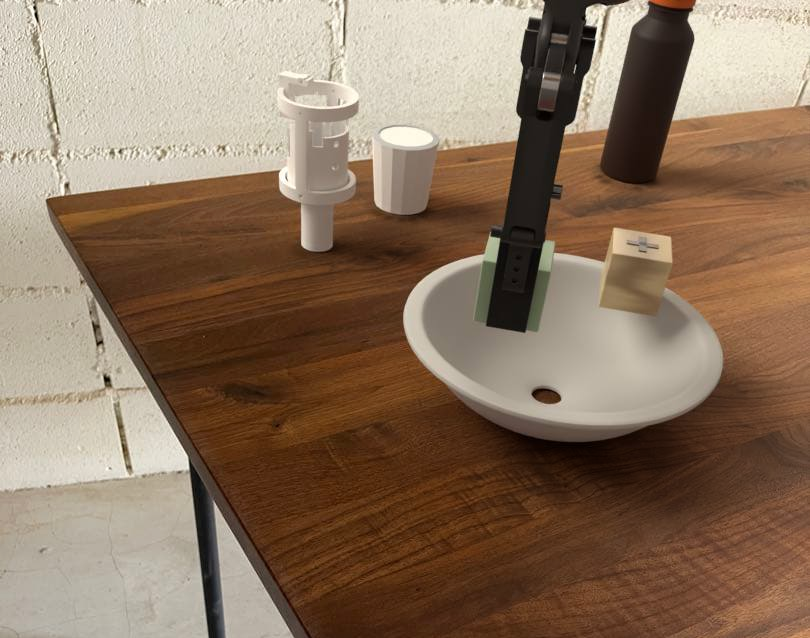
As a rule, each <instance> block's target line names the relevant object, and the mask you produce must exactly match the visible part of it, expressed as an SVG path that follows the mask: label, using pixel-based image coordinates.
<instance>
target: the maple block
mask: <svg viewBox="0 0 810 638" xmlns="http://www.w3.org/2000/svg"><path fill="white" fill-rule="evenodd" d="M672 241H673V240H672V236H668V235H663V234H657V233H650V232H646V231H638V230H632V229H626V228H621V227H613V228H612V232H611V237H610V240H609V243H608V247H607V252H606V255H605V259H604V262H605V263H604V267H603V271H602V274H601V278H600V290H599V305H598V306H599V307H602V308H608V309H614V310H620V311H626V312H632V313H637V314H643V315H649V316H656V315H657V312H658V309H659V306H660V302H661V299H662V296H663V293H664V290H665V287H666V288H667V283H668V280H669V277H670V274H671V271H672V267H673V265H674V261H673V244H672Z"/></svg>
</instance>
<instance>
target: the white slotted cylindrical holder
mask: <svg viewBox="0 0 810 638" xmlns="http://www.w3.org/2000/svg"><path fill="white" fill-rule="evenodd" d="M317 92H318V93H319V96H326V106H315V105H307V104H303V103H299V102H296V97H299V96H310V95H311V96H312V95H315V94H317ZM276 99H277V108H278V110H279V117H280V118H284V119H288V120H293V122H292V123H289V125H288V126H287V127H286V130H287V131H286V132H287V133H286V135H287V137H286V138H287V139H286V140H287V141H286V142H287V152H286V165H285V166H284V167H283V168H282V169H281V170H280V171H279V173H278V188H279V191H280V193H281V194H282V195H283V196H284V197H286V198H288V199H290V200H292V201H294V202H297V203H300V219H301V220H300V222H301V223H300V225H301V226H300V232H301V233H300V234H301V235H300V236H301V237H300V243H301V244H300V245H301V247H302V248H303V249H305V250H307V251H310V252H316V253H320V252H321V253H322V252H327V251H329V250H331V249H332V248H333V246H334V205H337V204H341V203H344V202H347V201H349V200H350V199H352V198H353V197H354V195H356V185H357V178H356V175H355V173H354V172H353V171H351V170H350V169H349V148H350V147H349V145H350V126H349V125H350V123H349V122H350V119H352V118H354V117H355V116H356V115H358V114H359V108H360V107H359V106H360V94H359V93H358V92H357V90H355V88H352V87H351V86H349V85H346V84H343V83H340V82H335V81H331V80H324V79H315V78H314V76H311V75H310V74H307V73H303V74H302V73H301V74H300V73H296V72H293V71H288V70H284V71H282V72H280V73H279V74H278V88H277V91H276ZM341 100H342V101H344V102H346V103H343V104H341Z"/></svg>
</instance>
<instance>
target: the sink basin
mask: <svg viewBox="0 0 810 638" xmlns="http://www.w3.org/2000/svg"><path fill="white" fill-rule="evenodd" d="M483 257H484V253H483V254H478V255H472V256H468V257H466V258H461V259H459V260H455V261H453V262H450V263H448V264H445V265H443V266H440V267H439V268H437V269H435V270H434V271H432V272H431V273H429V274H427V275H426V276H425V277H424V278H423V279H421V280H420V281H419V282H418V283H417V284H416V286H414V288H413V289H412V291H411V292H410V294H409V295H408V296H407V297H408V298H407V300H406V302H405V305H404V308H403V315H402V317H403V319H402V322H403V329H404V334H405V336H406V339H407V342H408V344H409V346H410V348H411V350H412V352H413V353H414V354H415V356H416V357H417V358H418V360H419V361H420V362H421V364H423V366H424V367H425V368H426V369H427V370H428V371H429V372H430V373H431V374H432V375H434V376H435V377H436V378H438V380H439V381H441V382H442V383H444V384H445V386H446V387H447V388H448V389H449V390H450V391H451V393H452V394H454V395H455V396H456V397H457V398H458V400H460V401H461V402H462V403H463V404H465V405H466V406H467V407H468V408H470V409H471V410H472V411H473V412H475V413H476V414H478V415H480V416H481V417H482V418H484V419H486V420H488V421H490V422H491V423H494V424H495V425H497V426H500V427H502V428H504V429H506V430H510V431H512V432H515V433H517V434H520V435H524V436H527V437H531V438H535V439H541V440H545V441H552V442H563V443H564V442H565V443H585V442H586V443H587V442H596V441H605V440H609V439H615V438H618V437H621V436H622V437H623V436H626V435H628V434H631V433H635V432H637V431H639V430H641V429H644V428H646V427H648V426H652V425H657V424H660V423H664V422H668V421H671V420H673V419H675V418H677V417H680V416H682V415H685V414H686V413H688V412H690V411H692V410H693V409H695V408H696V407H698V406H699V405H701V404H702V403H703V402H704V401H705V400H706V399H707V398H708V397H710V395H711V394H712V392H713V391H714V390H715V389H716V388H717V385H718V383H719V382H720V380H721V377H722V373H723V367H724V355H723V354H724V353H723V348H722V346H721V342H720V340H719V338H718V335H717V333H716V331H715V330H714V328H713V327H712V326H711V324H710V323H709V322H708V320H707V319H706V318H705V316H703V315H702V314H701V313H700V311H698V309H697V308H695V307H694V306H693V305H692V304H690V302H688V301H687V300H686V299H684V298H683V297H681V296H680V295H679V294H677V293H675V292H674V291H672V290H671V289H670V288H667V286H666V287H665V290H664V293H663V296H662V299H661V302H660V306H659V309H658V312H657V315H656V316H649V315H643V314H637V313H632V312H626V311H620V310H614V309H608V308H602V307H599V306H598V305H599V290H600V278H601V274H602V271H603V267H604V263H605V261H601V260H597V259H593V258H590V257H589V258H588V257H584V256H579V255H574V254H569V253H568V254H567V253H559V252H554V257H553V263H552V270H551V275H550V280H549V285H548V289H547V294H546V298H545V303H544V308H543V312H542V317H541V321H540V326H539V330H538V332H533V331H527V330H526V332H525V333H522V332H516V331H510V330H505V329H499V328H493V327H487V326H486V323H482V322H476V321H473V318H474V311H475V305H476V298H477V292H478V286H479V279H480V273H481V267H482V261H483ZM539 389H544V390H550V391H553V392H556V393H557V394H558V395H559V396H560V401H558V402H556V403H544V402H541V401H539V400H537V399H535V397H534V396H533V395H532V394H533V392H534V391H536V390H539Z"/></svg>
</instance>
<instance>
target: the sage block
mask: <svg viewBox="0 0 810 638" xmlns="http://www.w3.org/2000/svg"><path fill="white" fill-rule="evenodd" d="M490 234H491V231H489V236H488V239H487V243H486V247H485V250H484V253H483V254H484V257H483V261H482V267H481V273H480V279H479V286H478V292H477V298H476V305H475V311H474V318H473V321H476V322H482V323H486V321H487V315H488V309H489V303H490V297H491V291H492V285H493V279H494V273H495V267H496V261H497V255H498V249H499V243H500V238H495V237H490ZM555 251H556V241H554V240H547V239H545V243H544V244H543V249H542V253H541V258H540V263H539V268H538V273H537V278H536V283H535V288H534V293H533V298H532V303H531V307H530V312H529V317H528V322H527V327H526V330H527V331H533V332H538V330H539V326H540V321H541V317H542V312H543V308H544V303H545V298H546V294H547V289H548V285H549V280H550V275H551V270H552V263H553V257H554V253H555Z"/></svg>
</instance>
